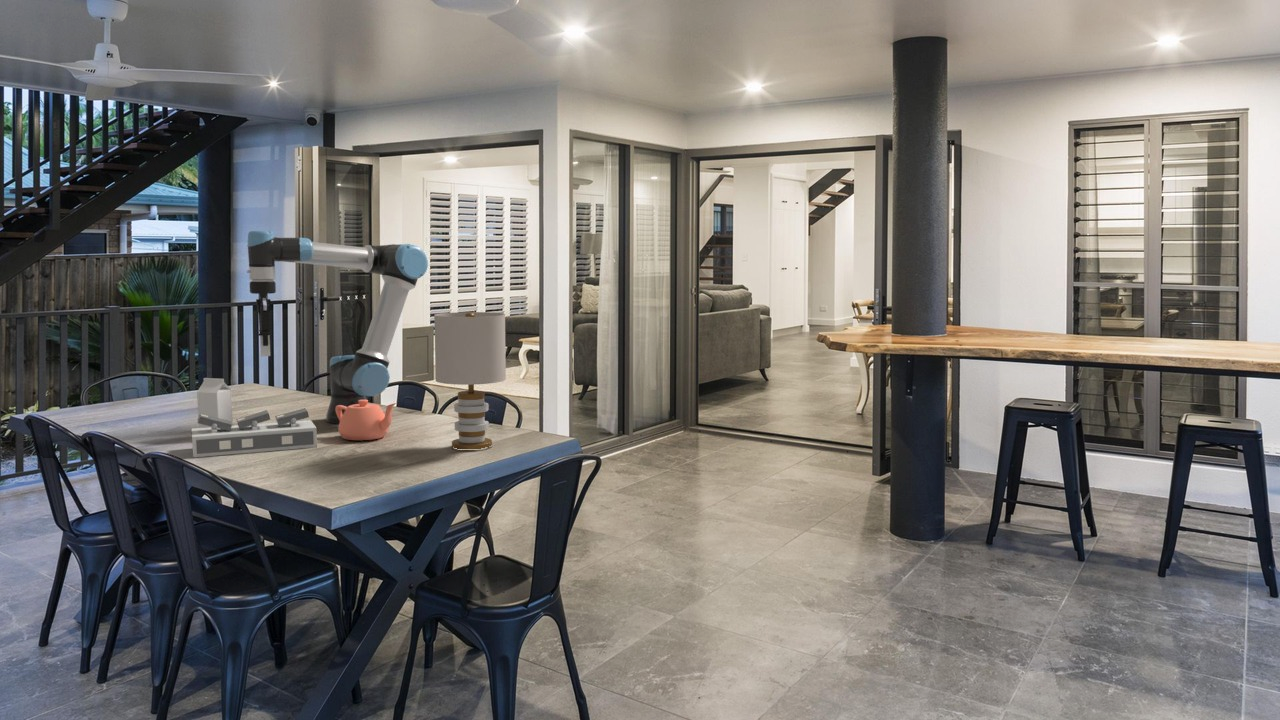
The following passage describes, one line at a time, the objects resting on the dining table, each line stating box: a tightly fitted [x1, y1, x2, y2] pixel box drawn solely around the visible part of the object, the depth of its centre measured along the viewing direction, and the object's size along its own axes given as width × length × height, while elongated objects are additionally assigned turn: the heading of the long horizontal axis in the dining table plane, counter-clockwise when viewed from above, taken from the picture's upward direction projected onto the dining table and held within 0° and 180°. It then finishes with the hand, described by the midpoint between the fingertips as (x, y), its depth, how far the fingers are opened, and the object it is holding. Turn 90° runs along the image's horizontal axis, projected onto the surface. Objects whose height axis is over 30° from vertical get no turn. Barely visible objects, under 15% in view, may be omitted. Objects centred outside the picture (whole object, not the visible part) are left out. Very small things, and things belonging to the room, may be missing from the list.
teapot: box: [335, 399, 397, 441], centre depth 295 cm, size 22×15×12 cm
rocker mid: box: [236, 409, 271, 429], centre depth 280 cm, size 9×6×3 cm
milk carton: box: [196, 377, 234, 428], centre depth 295 cm, size 7×7×19 cm
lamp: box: [433, 311, 507, 449], centre depth 281 cm, size 21×21×41 cm
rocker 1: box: [197, 414, 233, 431], centre depth 275 cm, size 9×6×3 cm
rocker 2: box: [274, 407, 310, 425], centre depth 285 cm, size 9×6×3 cm
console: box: [191, 419, 318, 458], centre depth 280 cm, size 34×15×7 cm, turn 116°
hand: (265, 355), depth 291 cm, fingers closed
